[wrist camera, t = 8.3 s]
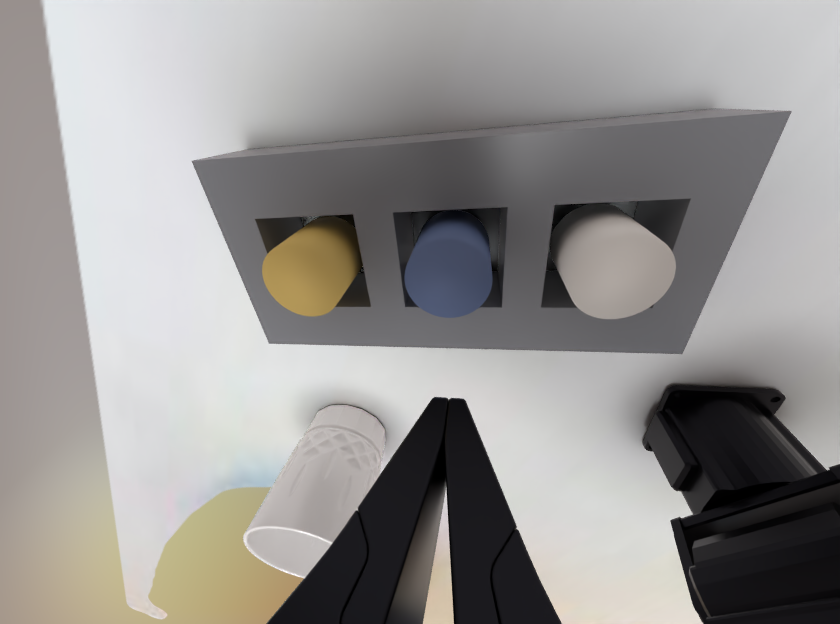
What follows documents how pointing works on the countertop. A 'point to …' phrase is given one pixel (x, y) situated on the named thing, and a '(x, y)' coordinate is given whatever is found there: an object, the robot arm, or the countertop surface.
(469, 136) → the key block
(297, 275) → the ochre key
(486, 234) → the navy key
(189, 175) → the countertop surface
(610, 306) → the white key
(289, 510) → the white cup
